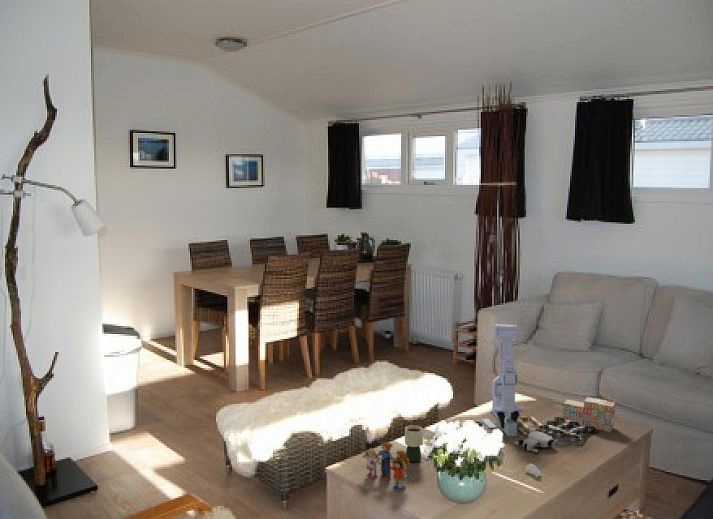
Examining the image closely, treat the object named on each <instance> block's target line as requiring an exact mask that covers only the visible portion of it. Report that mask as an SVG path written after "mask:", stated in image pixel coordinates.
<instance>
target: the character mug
mask: <svg viewBox="0 0 713 519" xmlns="http://www.w3.org/2000/svg"><path fill="white" fill-rule="evenodd" d="M423 431H424V430H423V427H421V426H419V425H408V426H405V428H404V444H405V445H406V451H405V454H406V456H407V458H409V462H419V461H421V460H422V453H421V452H422V451H421V446H423V445H424V432H423Z"/></svg>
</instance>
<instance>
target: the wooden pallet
mask: <svg viewBox="0 0 713 519" xmlns="http://www.w3.org/2000/svg"><path fill="white" fill-rule="evenodd" d="M515 423H516V424H517V432H519V433H520V434H521V435H522V436H523V437H528V434H529V433H531V432H532V431H533V430H534V431H535V430H536V428H537V427H539V426H541V425H543V424H542V423H541V422H540V421H539V420H537V419H536V418H535V416H532V415H531V416H528V415H527V416H526V415H525V416H524V415H523V416H519V417H518V418H517V420H516V422H515Z"/></svg>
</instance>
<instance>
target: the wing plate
mask: <svg viewBox="0 0 713 519" xmlns="http://www.w3.org/2000/svg"><path fill="white" fill-rule="evenodd" d="M480 421H481V422H482V423H483V424H484V425H485V426H486V427H487V428H488V427H489V428H493V429H494V428H496V429H498V426H497V425H495V423H493V421H491V420H490V419H489V418H481V419H480ZM489 428H488V429H489Z"/></svg>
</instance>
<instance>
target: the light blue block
mask: <svg viewBox="0 0 713 519" xmlns="http://www.w3.org/2000/svg"><path fill="white" fill-rule="evenodd" d="M497 427H499V429H500V430H501V429H502V428H501V425H500V420H499V417H498V418H497ZM502 430H503V431H504V434H505V435H506V436H507V437H515V436H518V435H517V432H518V430H517V424H516V423H515V422H514V421H513V420H512V419H511V418H509V417H508V416H507V415H505V421H504V429H502ZM502 430H501V431H502ZM503 431H502V432H503Z"/></svg>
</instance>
